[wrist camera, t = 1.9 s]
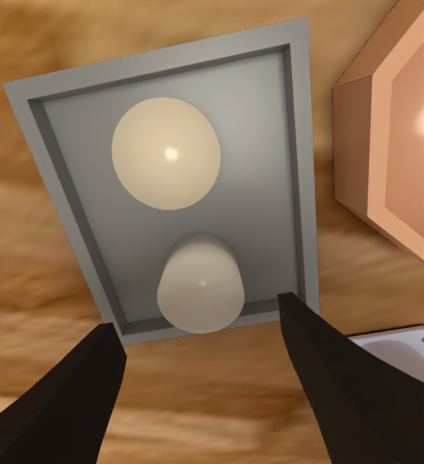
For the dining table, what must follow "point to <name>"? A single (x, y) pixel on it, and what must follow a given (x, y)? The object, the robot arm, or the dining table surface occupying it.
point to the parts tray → (219, 196)
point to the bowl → (384, 130)
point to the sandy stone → (166, 153)
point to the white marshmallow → (201, 284)
